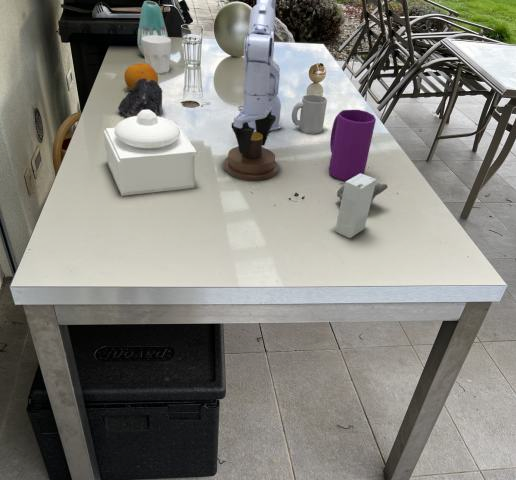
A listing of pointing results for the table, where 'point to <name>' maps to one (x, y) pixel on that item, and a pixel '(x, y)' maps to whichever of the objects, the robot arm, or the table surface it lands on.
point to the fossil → (377, 190)
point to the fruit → (139, 74)
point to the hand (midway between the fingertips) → (252, 148)
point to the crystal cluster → (142, 99)
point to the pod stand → (251, 165)
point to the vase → (150, 23)
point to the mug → (350, 143)
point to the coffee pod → (255, 146)
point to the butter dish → (149, 155)
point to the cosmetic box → (355, 205)
